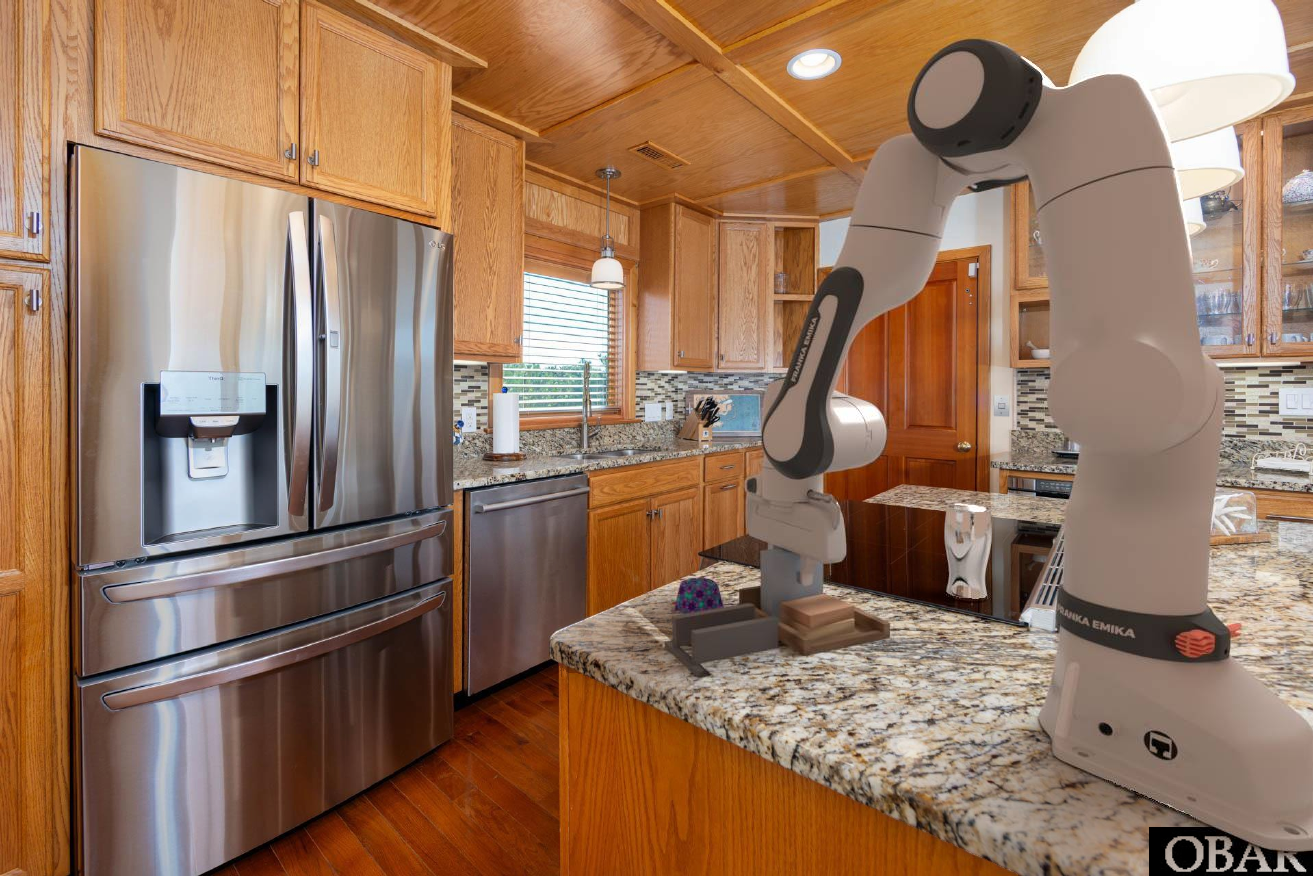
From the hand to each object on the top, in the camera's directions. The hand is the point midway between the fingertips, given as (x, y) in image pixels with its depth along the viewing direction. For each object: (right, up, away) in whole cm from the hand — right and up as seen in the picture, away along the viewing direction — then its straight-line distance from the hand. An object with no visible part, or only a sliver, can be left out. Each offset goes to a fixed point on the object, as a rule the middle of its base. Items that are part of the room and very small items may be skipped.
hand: (792, 578), depth 92 cm
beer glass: (+31, -6, +11) cm, 34 cm away
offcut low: (+2, -6, -5) cm, 8 cm away
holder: (-11, -8, -10) cm, 17 cm away
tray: (+2, -7, -4) cm, 8 cm away
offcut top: (+2, -4, -5) cm, 7 cm away
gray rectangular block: (0, -6, 0) cm, 6 cm away
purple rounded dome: (-14, -7, +5) cm, 16 cm away
